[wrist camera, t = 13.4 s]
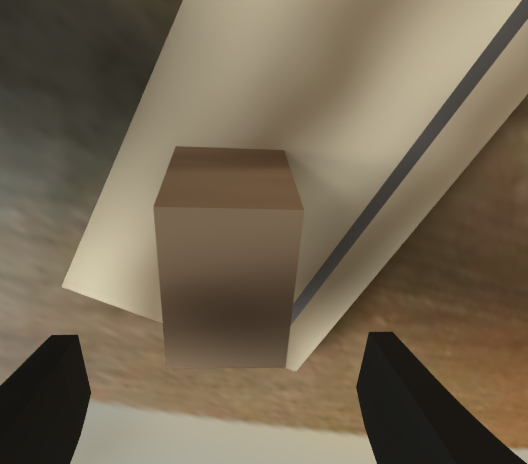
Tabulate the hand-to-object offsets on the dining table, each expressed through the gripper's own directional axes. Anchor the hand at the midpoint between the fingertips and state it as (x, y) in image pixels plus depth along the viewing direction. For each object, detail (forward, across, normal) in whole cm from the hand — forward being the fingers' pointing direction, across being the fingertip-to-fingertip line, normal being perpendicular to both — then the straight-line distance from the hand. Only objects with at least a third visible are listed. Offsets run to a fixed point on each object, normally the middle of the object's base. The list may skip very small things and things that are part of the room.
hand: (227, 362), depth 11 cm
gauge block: (+7, 0, 0) cm, 7 cm away
